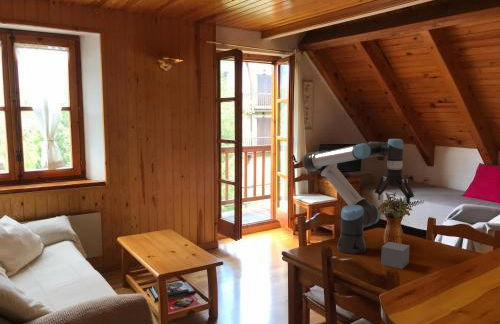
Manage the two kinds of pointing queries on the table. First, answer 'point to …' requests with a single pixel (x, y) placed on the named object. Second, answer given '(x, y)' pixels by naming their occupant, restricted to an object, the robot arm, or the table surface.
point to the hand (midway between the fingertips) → (393, 208)
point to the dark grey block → (395, 255)
